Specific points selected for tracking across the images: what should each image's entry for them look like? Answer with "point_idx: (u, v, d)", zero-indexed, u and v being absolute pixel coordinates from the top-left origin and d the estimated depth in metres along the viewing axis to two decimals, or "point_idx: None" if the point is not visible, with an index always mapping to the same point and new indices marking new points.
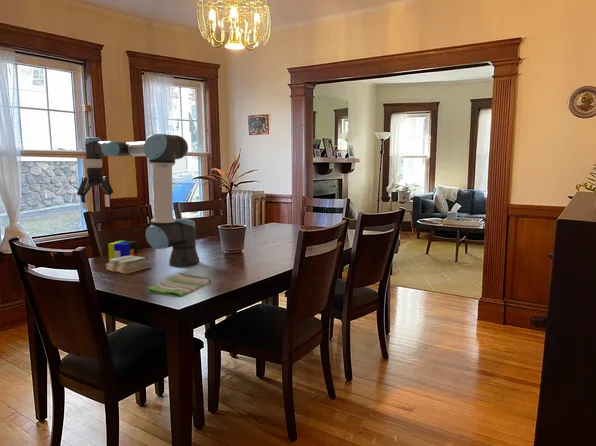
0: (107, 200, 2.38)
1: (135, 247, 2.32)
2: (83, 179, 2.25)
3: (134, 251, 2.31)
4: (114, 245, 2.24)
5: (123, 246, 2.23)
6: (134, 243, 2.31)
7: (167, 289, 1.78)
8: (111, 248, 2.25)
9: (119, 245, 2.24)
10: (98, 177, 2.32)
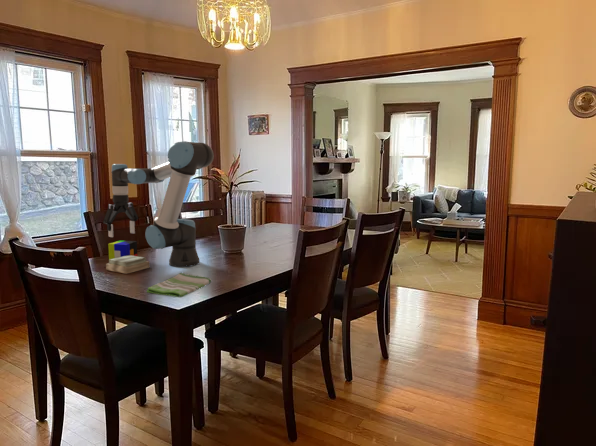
0: (132, 227, 2.33)
1: (135, 247, 2.32)
2: (109, 207, 2.20)
3: (134, 251, 2.31)
4: (114, 245, 2.24)
5: (123, 246, 2.23)
6: (134, 243, 2.31)
7: (167, 289, 1.78)
8: (111, 248, 2.25)
9: (119, 245, 2.24)
10: (124, 204, 2.27)
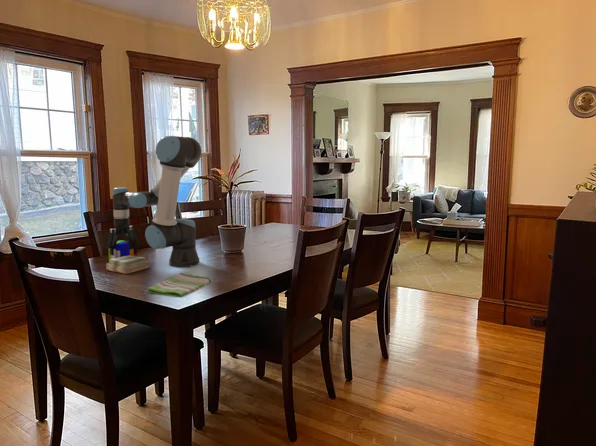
0: None
1: (135, 247, 2.32)
2: (111, 231, 2.22)
3: (134, 251, 2.31)
4: None
5: (123, 246, 2.23)
6: (134, 243, 2.31)
7: (167, 289, 1.78)
8: None
9: (118, 244, 2.24)
10: (125, 227, 2.28)
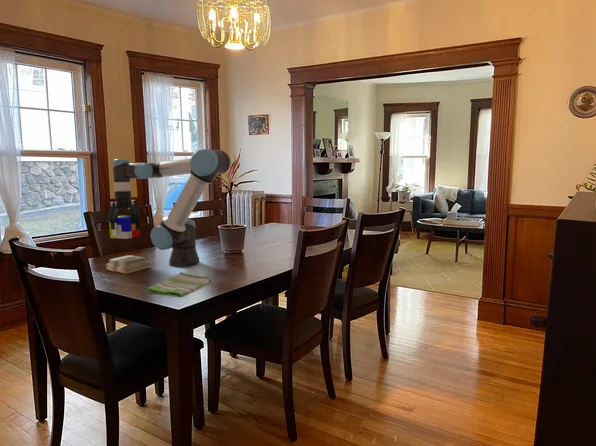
0: None
1: (137, 222, 2.21)
2: (111, 204, 2.12)
3: (136, 226, 2.20)
4: None
5: (124, 220, 2.13)
6: (136, 217, 2.20)
7: (167, 289, 1.78)
8: None
9: (119, 218, 2.13)
10: (127, 200, 2.18)
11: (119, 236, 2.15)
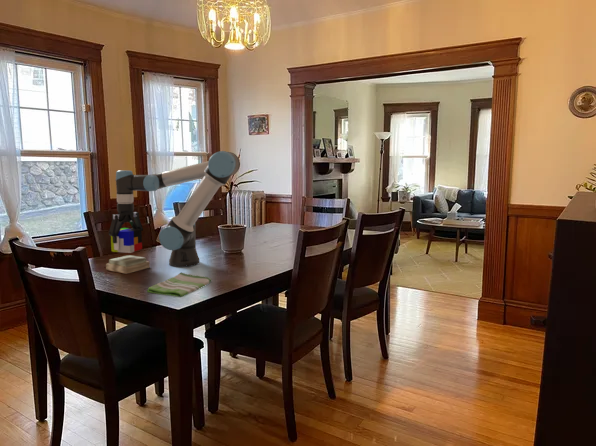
0: None
1: (140, 235, 2.15)
2: (114, 217, 2.05)
3: (138, 239, 2.14)
4: None
5: (126, 233, 2.06)
6: (138, 231, 2.14)
7: (168, 289, 1.78)
8: None
9: (122, 232, 2.07)
10: (129, 213, 2.11)
11: (121, 250, 2.08)
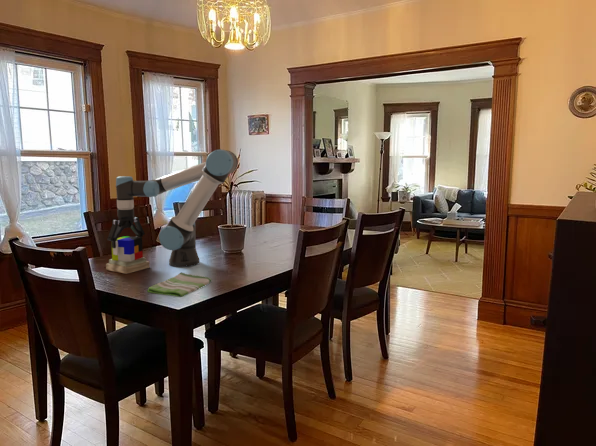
0: None
1: (140, 243, 2.15)
2: (114, 223, 2.05)
3: (139, 248, 2.14)
4: None
5: (127, 242, 2.07)
6: (139, 239, 2.14)
7: (168, 289, 1.78)
8: None
9: (122, 241, 2.07)
10: (129, 219, 2.12)
11: (121, 259, 2.09)
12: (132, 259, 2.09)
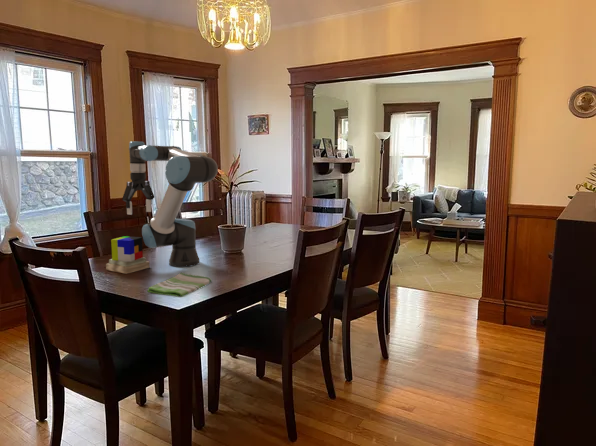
0: (149, 205, 2.34)
1: (140, 243, 2.15)
2: (128, 184, 2.20)
3: (139, 248, 2.14)
4: (117, 241, 2.08)
5: (127, 242, 2.07)
6: (139, 239, 2.14)
7: (168, 289, 1.78)
8: (114, 244, 2.09)
9: (122, 241, 2.07)
10: (141, 182, 2.27)
11: (121, 259, 2.09)
12: (132, 259, 2.09)
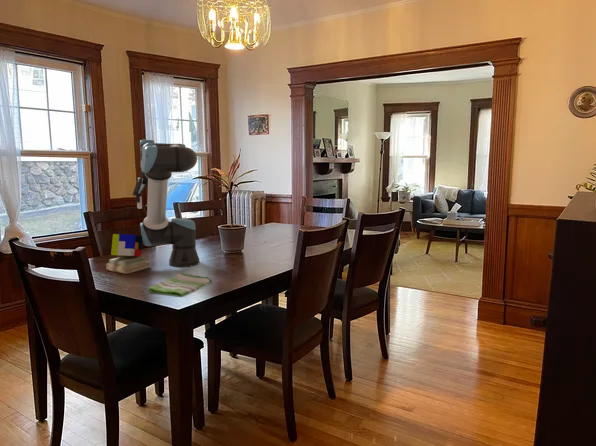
0: None
1: (140, 242, 2.18)
2: (138, 180, 2.33)
3: (138, 245, 2.16)
4: (119, 235, 2.11)
5: (129, 236, 2.10)
6: (140, 237, 2.17)
7: (168, 289, 1.78)
8: (116, 238, 2.11)
9: (124, 235, 2.10)
10: None
11: (121, 253, 2.09)
12: (132, 254, 2.10)
